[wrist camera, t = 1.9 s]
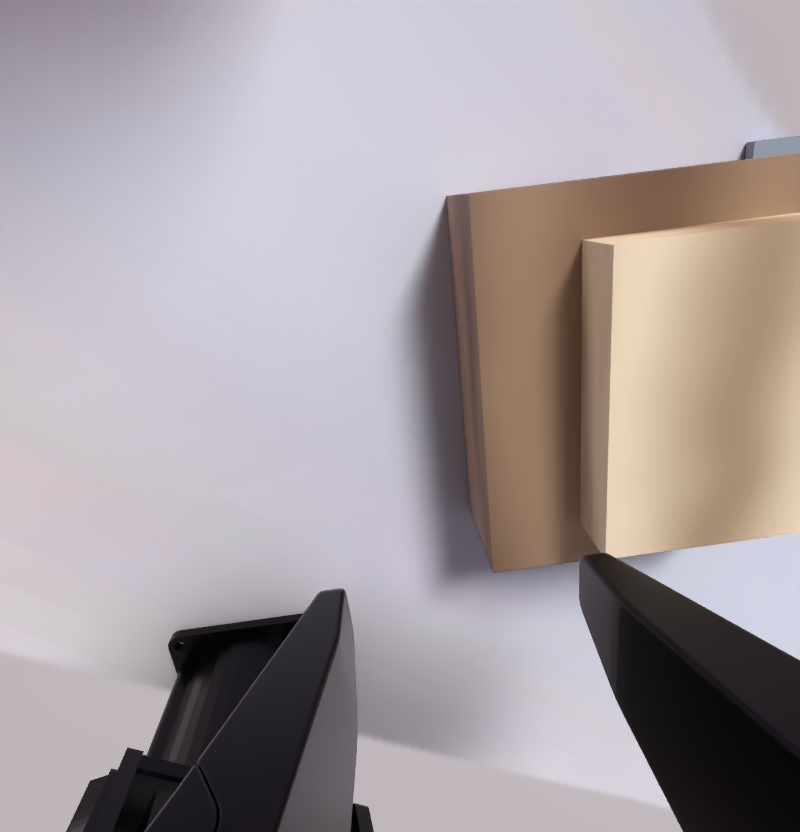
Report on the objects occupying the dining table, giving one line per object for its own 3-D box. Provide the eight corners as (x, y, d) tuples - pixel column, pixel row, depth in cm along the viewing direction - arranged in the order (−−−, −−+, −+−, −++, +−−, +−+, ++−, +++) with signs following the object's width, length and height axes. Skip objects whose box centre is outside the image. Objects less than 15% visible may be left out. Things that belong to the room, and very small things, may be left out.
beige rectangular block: (580, 523, 18) (605, 559, 16) (582, 240, 15) (613, 245, 13) (757, 499, 18) (802, 532, 16) (798, 212, 15) (860, 213, 13)
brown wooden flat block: (471, 511, 22) (493, 572, 19) (446, 196, 18) (469, 194, 14) (711, 478, 23) (780, 532, 19) (745, 159, 18) (844, 147, 14)
